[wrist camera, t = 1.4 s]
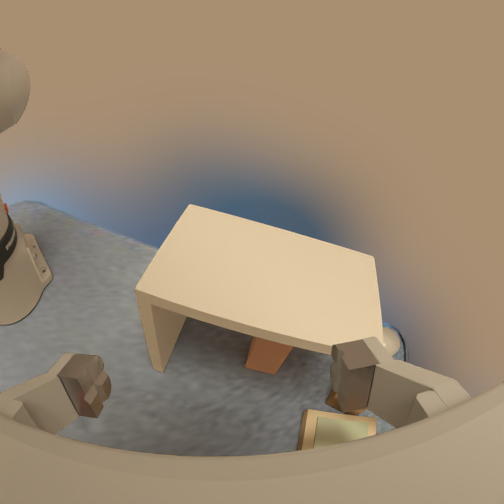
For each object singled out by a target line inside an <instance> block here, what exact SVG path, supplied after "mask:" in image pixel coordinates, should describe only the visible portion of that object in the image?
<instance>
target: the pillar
mask: <svg viewBox="0 0 504 504" xmlns="http://www.w3.org/2000/svg"><path fill="white" fill-rule="evenodd" d="M293 347H294V346H290V345H286V344H282V343H278V342H274V341H270V340H266V339H262V338H259V337H255V336H253V339H252V342H251V345H250V349H249V353H248V357H247V361H246V365H245V368H249V369H253V370H257V371H261V372H265V373H269V374H273V375H275V374H276V372H277V371H278V369H279V368H280V366H281V365H282V363H283V362H284V360H285V359H286V357H287V356H288V354H289V353H290V351H291V350H292V348H293Z"/></svg>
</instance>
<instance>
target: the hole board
mask: <svg viewBox="0 0 504 504" xmlns="http://www.w3.org/2000/svg"><path fill="white" fill-rule="evenodd" d="M373 435H376V418H374V417H363V416H354V415H345V414H338V413H330V412H324V411H317V410H311V409H307V410H306V411H305V412H303V417H302V424H301V430H300V436H299V442H298V448H297V451H300V450H307V449H313V448H319V447H325V446H330V445H335V444H340V443H344V442H349V441H353V440H357V439H361V438H365V437H369V436H373Z"/></svg>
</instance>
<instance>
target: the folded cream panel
mask: <svg viewBox="0 0 504 504" xmlns="http://www.w3.org/2000/svg"><path fill="white" fill-rule="evenodd" d="M135 294H136V299H137V303H138V308H139V313H140V317H141V322H142V326H143V330H144V334H145V339H146V342H147V346H148V350H149V354H150V358H151V361H152V365H153V369H154V370H157V371H160V372H162V373H164V370H165V368H166V365H167V363H168V360H169V358H170V356H171V353H172V351H173V348H174V346H175V344H176V341H177V339H178V336H179V334H180V332H181V329H182V327H183V325H184V322H185V320H186V317H187V316H188V317H191V318H194V319H197V320H200V321H203V322H207V323H210V324H213V325H216V326H220V327H223V328H227V329H230V330H233V331H237V332H240V333H244V334H248V335H251V336H255V337H259V338H262V339H266V340H270V341H274V342H278V343H282V344H286V345H290V346H294V347H298V348H302V349H307V350H311V351H315V352H320V353H324V354H329V355H331V350H332V345H334V344H339V343H345V342H350V341H355V340H360V339H364V338H368V337H373V336H374V337H376V338H377V339H378V340H379V341H380V343H381V344H382V345H383V346H384V342H383V329H382V318H381V308H380V299H379V290H378V283H377V276H376V268H375V261H374V257H373V256H370V255H366V254H363V253H360V252H357V251H354V250H350V249H347V248H344V247H341V246H337V245H334V244H330V243H327V242H324V241H321V240H317V239H313V238H310V237H307V236H304V235H300V234H297V233H293V232H290V231H287V230H283V229H280V228H276V227H273V226H269V225H265V224H262V223H258V222H255V221H251V220H247V219H243V218H240V217H237V216H233V215H229V214H226V213H222V212H218V211H214V210H210V209H207V208H203V207H199V206H195V205H192V204H189V206H188V207H187V209H186V210H185V211H184V213H183V214H182V216H181V217H180V219H179V220H178V222H177V223H176V225H175V226H174V228H173V229H172V231H171V232H170V234H169V235H168V237H167V238H166V240H165V241H164V243H163V244H162V246H161V247H160V249H159V250H158V252H157V253H156V255H155V257H154V258H153V260H152V261H151V263H150V264H149V266H148V268H147V269H146V271H145V272H144V274H143V276H142V277H141V279H140V281H139V282H138V284H137V285H136V287H135Z"/></svg>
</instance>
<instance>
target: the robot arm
mask: <svg viewBox="0 0 504 504" xmlns="http://www.w3.org/2000/svg"><path fill="white" fill-rule="evenodd" d="M29 94H30V79H29V74H28V71H27V69H26V67H25V65H24V64H23V62H22V61H21V60H20V59H19V58H17V57H16V56H14V55H12V54H9V53H7V52H5V51H3V50H2V49H1V48H0V133H2V132H3V131H5V130H7V129H8V128H10V127H12V126H13V125H15V124H16V123H17V122H18V121H19V119H20V118H21V116H22V114H23V112H24V110H25V108H26V105H27V102H28V99H29ZM44 272H45V273H44ZM52 277H53V275H52V273H51V271H50V269H49V267H48V265H47V263H46V261H45V259H44V257H43V255H42V252H41V250H40V248H39V246H38V244H37V241H36V239H35V237H34V235H33V234H31V233H25V234H23V232H22V229H21V226H20V225H19V224H17V223H13V221H12V219H11V218H10V216H9V215H8V208H7V205H6V203H5V204H3V201H2V198H1V195H0V325H8V324H12V323H15V322H17V321H19V320H21V319H22V318H24V317H25V316H26V315H28V314H29V313H30V312H31V311H32V309H33V308H34V307H35V305H36V304H37V302H38V300H39V298H40V296H41V294H42V291H43V289H44V288H45V287H46V286H47V285H48V284H49V282H50V281H51V280H52ZM331 356H332V358H333V360H334V362H333V363H332V364H331V365H330V378H331V384H332V387H333V390H334V391H335V392H337V393H338V398H337V400H338V402H339V405H340V407H341V410H342V412H349V411H354V410H359V409H364V408H367V409H368V410H370V411H371V412H373V413H374V414H376V415H377V416H379V417H380V418H382V419H383V420H385V421H386V422H388V423H389V424H391V425H392V426H394V427H395V428H396V429H393V430H390V431H387V432H383V433H380V434H376V435H373V436H369V437H365V438H361V439H357V440H353V441H349V442H344V443H340V444H335V445H330V446H325V447H319V448H313V449H307V450H300V451H293V452H285V453H276V454H265V455H250V456H222V457H205V456H178V455H164V454H153V453H144V452H136V451H129V450H122V449H116V448H110V447H105V446H100V445H95V444H90V443H86V442H82V441H77V440H73V439H70V438H66V437H62V436H59V435H55V434H56V433H58V432H59V431H60V430H62V429H63V428H64V427H66V426H67V425H68V424H70V423H71V422H72V421H74V420H75V419H76V418H78V417H79V415H80V416H86V417H93V418H98V416H99V414H100V412H101V411H102V409H103V407H104V406H103V403H102V402H103V401H105V400H107V399H108V397H109V395H110V393H111V382H110V379H109V376H108V375H107V374H106V373H105V372H104V371H103V368H104V363H103V361H102V359H101V358H100V357H99V356H97V355H86V354H76V353H64V354H63V356H62V357H61V358H60V359H59V360H58V361H57V362H56V363H55V364H54V366H53V367H52V368H51V369H50V370H49V371H48V372H47V374H42V375H40V376H37V377H35V378H33V379H31V380H28V381H26V382H24V383H22V384H19V385H17V386H15V387H13V388H10V389H8V390H6V391H3V392H1V393H0V504H504V381H503V382H501V383H500V384H498V385H496V386H494V387H493V388H491V389H489V390H487V391H485V392H483V393H481V394H479V395H477V396H475V397H474V398H471V397H470V395H468V393H467V392H466V391H465V390H464V389H463V388H462V387H461V386H460V384H459V383H458V382H457V381H456V380H455V379H452V378H449V377H446V376H443V375H440V374H437V373H434V372H432V371H429V370H426V369H423V368H420V367H417V366H415V365H412V364H409V363H406V362H404V361H401V360H394V359H393V358H392V357H391V355H390V354H389V353H388V352H387V350H386V349H385V348H384V346H383V345H382V344H381V343H380V341H379V340H378V339H377V338H376V337H374V336H373V337H368V338H364V339H360V340H355V341H350V342H345V343H339V344H334V345H332V350H331Z"/></svg>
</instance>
